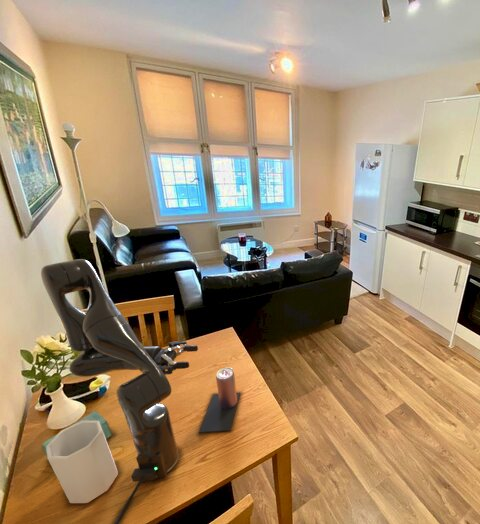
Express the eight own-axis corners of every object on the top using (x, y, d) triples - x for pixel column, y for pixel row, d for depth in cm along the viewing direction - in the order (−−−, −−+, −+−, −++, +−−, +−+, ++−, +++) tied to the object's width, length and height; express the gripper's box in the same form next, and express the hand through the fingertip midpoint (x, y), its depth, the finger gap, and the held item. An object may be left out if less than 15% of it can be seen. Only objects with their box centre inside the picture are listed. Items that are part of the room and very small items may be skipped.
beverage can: (231, 411, 105) (227, 380, 99) (216, 408, 106) (212, 377, 100) (240, 398, 110) (237, 368, 104) (226, 395, 111) (222, 365, 105)
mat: (230, 430, 99) (230, 429, 98) (199, 433, 97) (199, 432, 97) (240, 393, 113) (240, 392, 113) (213, 395, 112) (213, 394, 111)
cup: (113, 494, 79) (95, 449, 72) (60, 513, 74) (35, 467, 67) (122, 456, 88) (107, 413, 81) (75, 471, 84) (55, 427, 77)
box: (47, 460, 86) (39, 443, 83) (100, 425, 97) (95, 409, 94) (59, 473, 83) (51, 456, 80) (113, 435, 94) (107, 419, 91)
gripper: (128, 364, 91) (183, 361, 93) (151, 336, 104) (198, 335, 106) (134, 382, 94) (187, 379, 96) (155, 353, 107) (201, 351, 109)
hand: (193, 356), depth 101 cm, fingers open, 8 cm apart
